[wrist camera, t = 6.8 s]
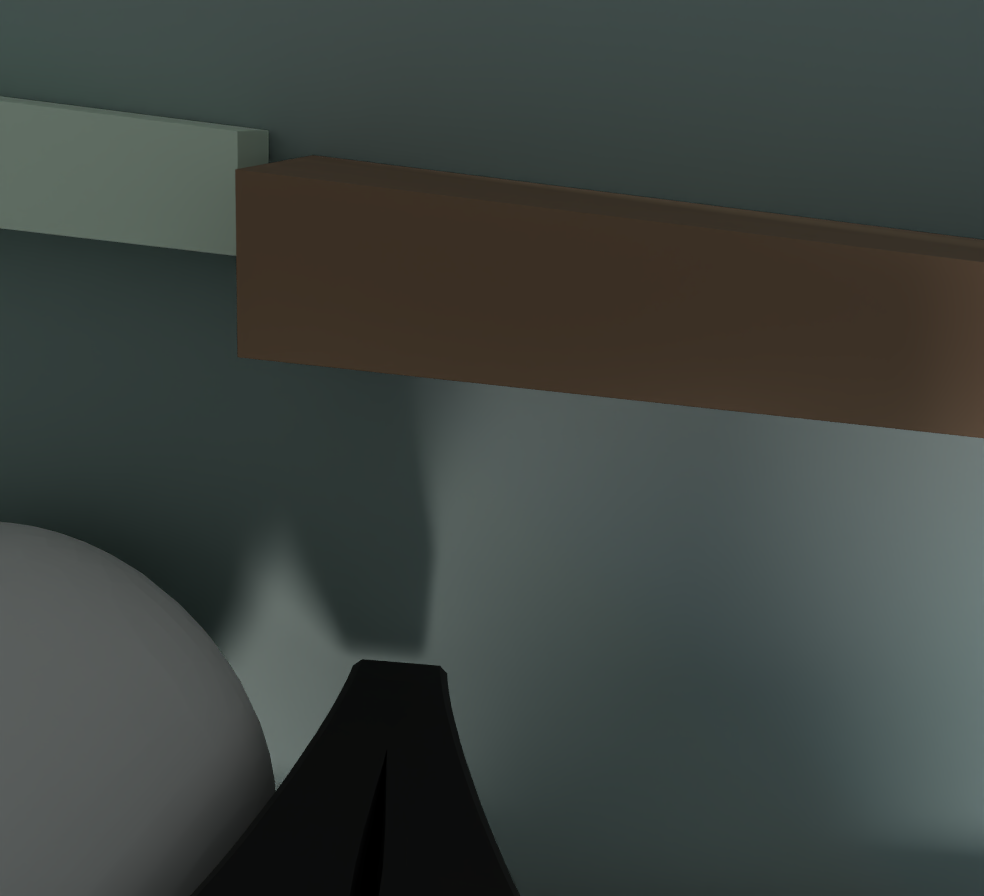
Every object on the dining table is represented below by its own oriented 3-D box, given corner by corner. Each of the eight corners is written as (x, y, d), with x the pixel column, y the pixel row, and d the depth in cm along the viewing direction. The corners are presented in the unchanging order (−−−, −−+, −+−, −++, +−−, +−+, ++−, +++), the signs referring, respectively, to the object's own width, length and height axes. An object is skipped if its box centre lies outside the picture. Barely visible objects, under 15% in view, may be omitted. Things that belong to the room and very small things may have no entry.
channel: (1008, 999, 15) (1129, 1199, 12) (292, 958, 14) (248, 1162, 11) (1439, 297, 9) (1836, 369, 7) (313, 155, 9) (234, 168, 6)
